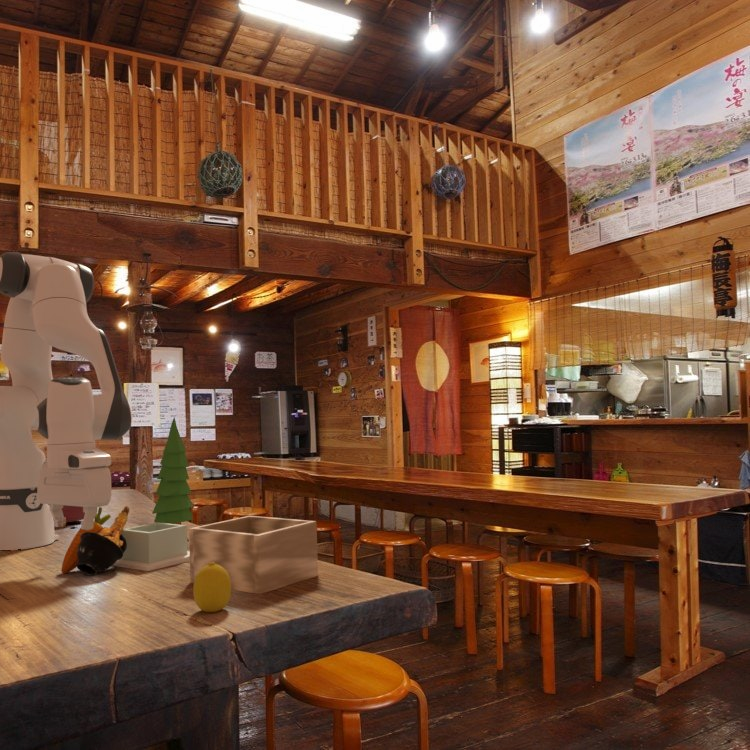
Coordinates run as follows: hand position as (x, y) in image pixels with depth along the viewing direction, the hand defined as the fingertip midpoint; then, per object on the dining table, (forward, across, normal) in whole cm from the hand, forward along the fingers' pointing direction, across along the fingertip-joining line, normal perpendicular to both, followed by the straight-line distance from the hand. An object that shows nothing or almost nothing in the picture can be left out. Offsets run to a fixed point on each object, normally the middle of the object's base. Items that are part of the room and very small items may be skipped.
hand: (73, 528), depth 132 cm
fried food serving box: (+9, +38, +12) cm, 40 cm away
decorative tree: (+9, -7, +30) cm, 32 cm away
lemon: (+9, +47, -6) cm, 48 cm away
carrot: (+8, +1, -3) cm, 9 cm away
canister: (+8, -67, +38) cm, 78 cm away
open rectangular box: (+9, +7, +14) cm, 18 cm away
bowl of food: (+8, +6, -2) cm, 10 cm away
